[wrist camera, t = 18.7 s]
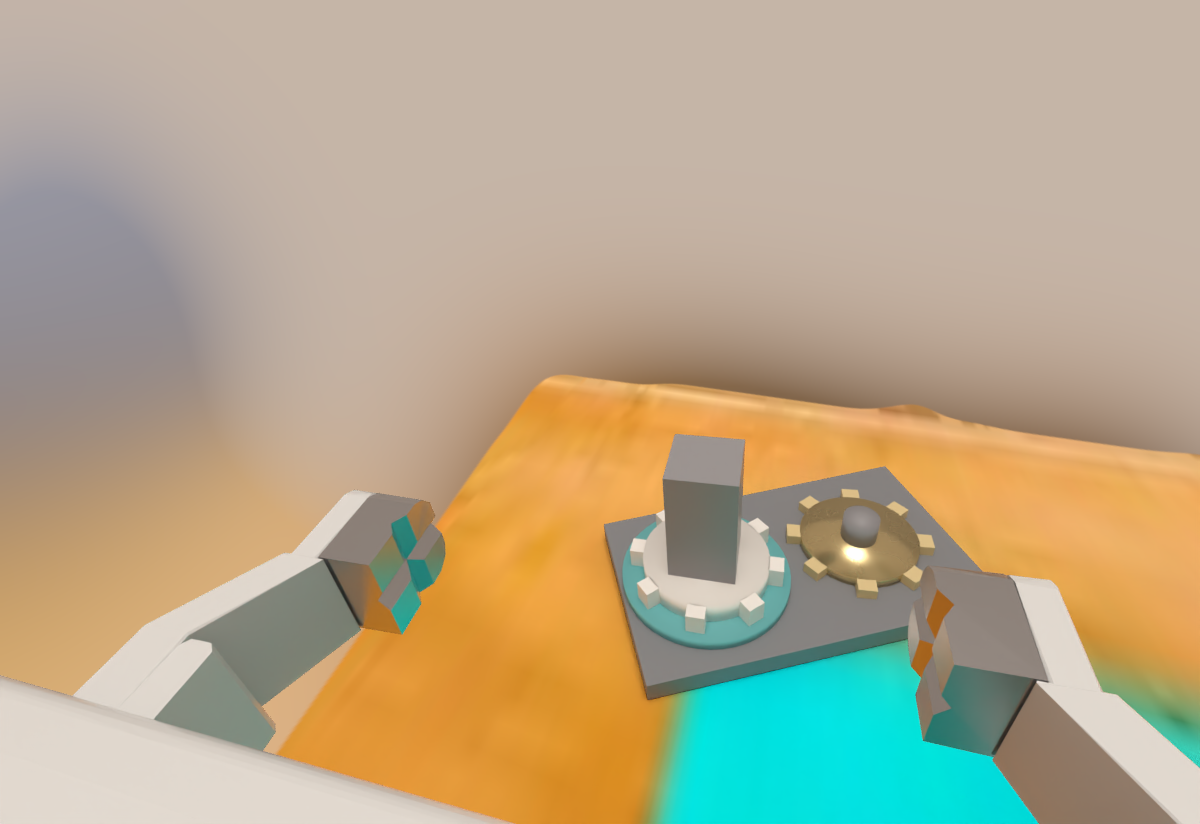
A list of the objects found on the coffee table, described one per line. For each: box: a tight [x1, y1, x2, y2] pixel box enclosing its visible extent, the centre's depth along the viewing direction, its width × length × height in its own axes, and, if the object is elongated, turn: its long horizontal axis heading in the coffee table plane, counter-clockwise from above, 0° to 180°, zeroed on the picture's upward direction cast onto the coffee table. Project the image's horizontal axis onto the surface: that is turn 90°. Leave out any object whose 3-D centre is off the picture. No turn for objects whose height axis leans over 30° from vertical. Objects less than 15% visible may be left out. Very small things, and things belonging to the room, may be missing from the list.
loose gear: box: [630, 434, 784, 634], centre depth 39 cm, size 10×10×10 cm
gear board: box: [604, 467, 982, 700], centre depth 42 cm, size 24×14×4 cm, turn 100°
